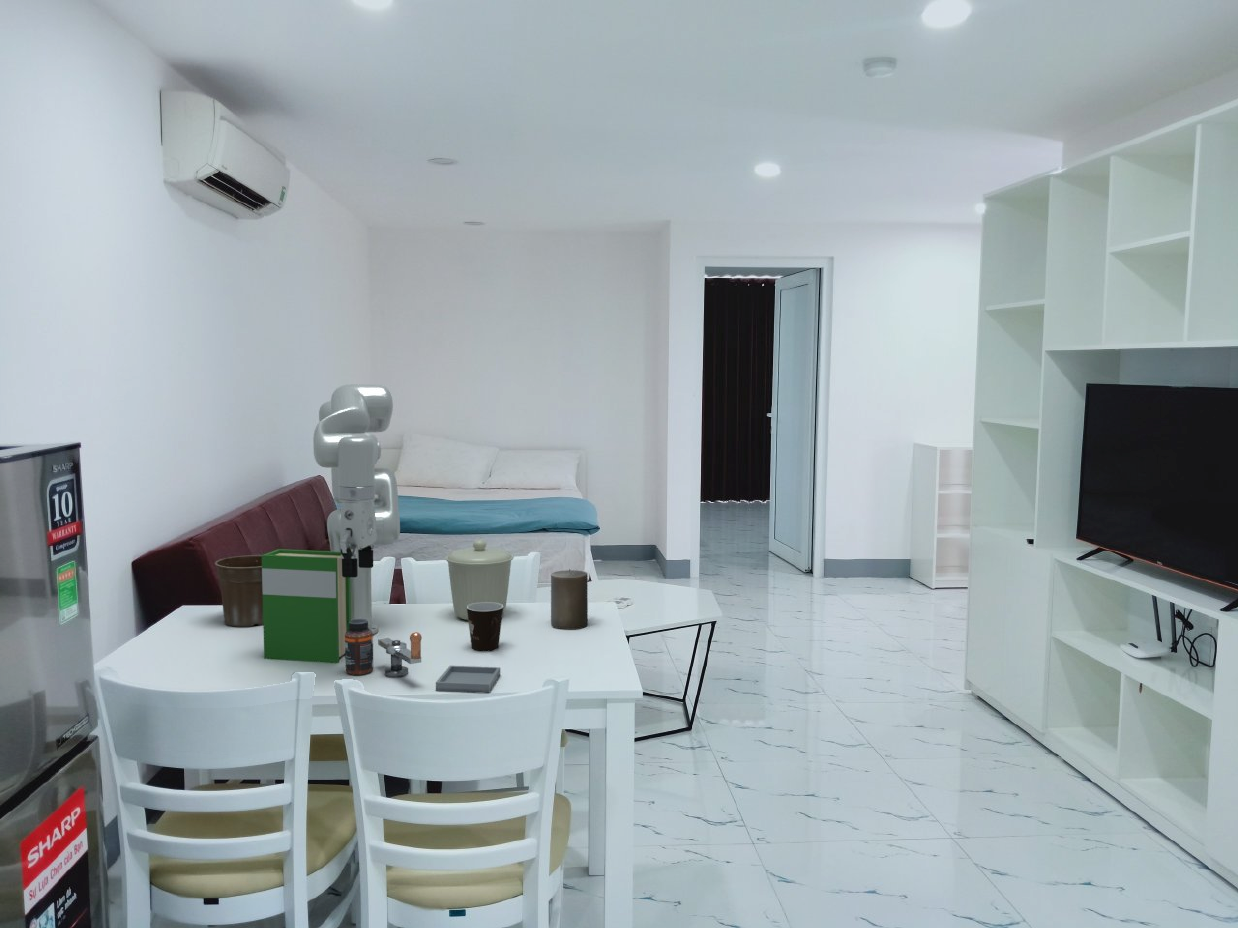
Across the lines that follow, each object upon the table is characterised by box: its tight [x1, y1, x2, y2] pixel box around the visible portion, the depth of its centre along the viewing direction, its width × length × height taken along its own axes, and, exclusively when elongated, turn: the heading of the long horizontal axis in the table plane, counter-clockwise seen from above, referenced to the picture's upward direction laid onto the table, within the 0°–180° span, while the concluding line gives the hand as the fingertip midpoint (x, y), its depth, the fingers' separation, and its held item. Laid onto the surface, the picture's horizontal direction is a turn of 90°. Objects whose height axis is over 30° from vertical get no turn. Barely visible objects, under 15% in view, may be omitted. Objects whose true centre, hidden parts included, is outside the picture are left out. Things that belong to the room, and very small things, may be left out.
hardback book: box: [261, 548, 351, 664], centre depth 213 cm, size 18×7×24 cm, turn 81°
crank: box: [377, 631, 423, 665], centre depth 200 cm, size 18×4×7 cm, turn 37°
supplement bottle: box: [344, 619, 375, 676], centre depth 203 cm, size 6×6×11 cm
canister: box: [444, 538, 515, 621], centre depth 250 cm, size 18×18×21 cm
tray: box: [435, 665, 501, 694], centre depth 197 cm, size 11×11×2 cm
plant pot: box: [214, 554, 263, 628], centre depth 242 cm, size 16×16×16 cm
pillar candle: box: [550, 568, 589, 630], centre depth 243 cm, size 10×10×15 cm
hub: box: [384, 654, 409, 679], centre depth 202 cm, size 5×5×5 cm
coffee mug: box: [467, 602, 504, 653], centre depth 221 cm, size 12×9×10 cm
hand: (358, 572), depth 202 cm, fingers open, 9 cm apart
